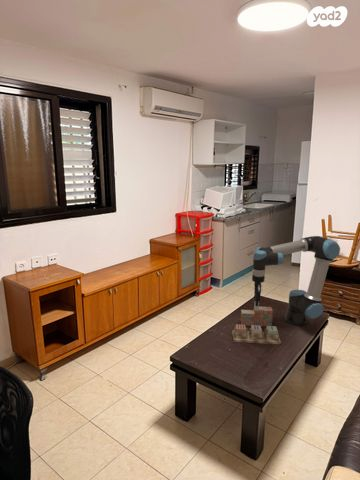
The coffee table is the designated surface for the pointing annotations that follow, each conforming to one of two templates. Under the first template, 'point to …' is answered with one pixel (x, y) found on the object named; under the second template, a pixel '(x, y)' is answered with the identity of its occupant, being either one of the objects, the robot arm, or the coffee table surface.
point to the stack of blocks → (257, 317)
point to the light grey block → (271, 330)
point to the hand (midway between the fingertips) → (256, 309)
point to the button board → (255, 337)
